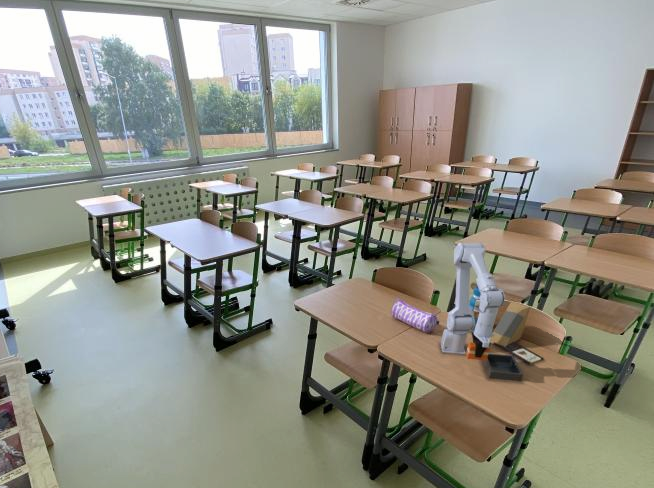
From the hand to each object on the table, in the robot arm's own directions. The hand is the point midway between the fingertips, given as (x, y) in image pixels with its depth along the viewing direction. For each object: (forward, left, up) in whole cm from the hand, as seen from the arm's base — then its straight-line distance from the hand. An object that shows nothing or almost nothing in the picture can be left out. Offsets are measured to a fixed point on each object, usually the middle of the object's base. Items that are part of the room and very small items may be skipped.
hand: (476, 354), depth 150 cm
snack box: (0, 0, -1) cm, 1 cm away
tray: (+11, +3, -8) cm, 14 cm away
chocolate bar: (+22, +19, -8) cm, 30 cm away
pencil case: (-21, +36, -8) cm, 43 cm away
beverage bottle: (+7, +38, -8) cm, 39 cm away
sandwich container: (+19, +29, -8) cm, 35 cm away
